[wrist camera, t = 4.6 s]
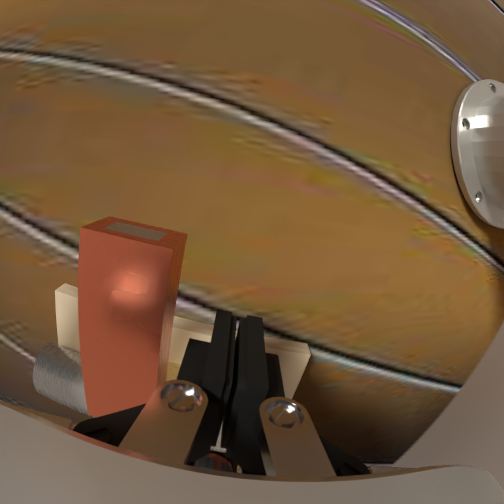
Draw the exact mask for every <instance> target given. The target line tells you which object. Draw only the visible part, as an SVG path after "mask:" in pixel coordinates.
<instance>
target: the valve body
mask: <svg viewBox="0 0 504 504" xmlns="http://www.w3.org/2000/svg"><path fill="white" fill-rule="evenodd" d="M180 366H181V365H180V364H176V363H173V362H169V361H168V369H167V378H166V381H170V380H176V379H177V376H178V372H179V369H180ZM33 383H34V386H35V389H36V390H37V392H38V393H40V394H42V395H44V396H46V397H48V398H50V399H52V400H54V401H56V402H59V403H61V404H63V405H65V406H67V407H70V408H72V409H74V410H77V411H79V412H81V413H84V414H86V415H89V414H88V410H87V404H86V397H85V390H84V382H83V374H82V365H81V354H79V353H77V352H74V351H72V350H69V349H67V348H64V347H62V346H59V345H57V344H55V343H48V344H46V345H45V346H44V347H43V348H42V349H41V351H40V352H39V354H38V356H37V359H36V361H35V365H34V370H33ZM89 416H91V415H89ZM91 417H94V416H91ZM94 418H96V417H94ZM221 432H222V425H221V429H220V433H219V436H218V440H217V444H216V447H213V446H211V448H210V450H211V451H217V452H223V453H226V449H225V448H221V447H220V444H221Z"/></svg>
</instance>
